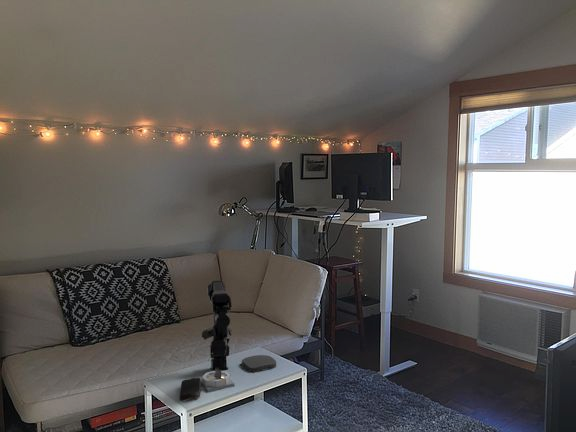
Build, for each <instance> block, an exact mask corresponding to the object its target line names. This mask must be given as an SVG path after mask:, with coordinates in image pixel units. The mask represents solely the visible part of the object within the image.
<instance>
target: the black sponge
mask: <svg viewBox="0 0 576 432" xmlns="http://www.w3.org/2000/svg"><path fill="white" fill-rule="evenodd" d="M200 379H201V378H200V377H191V378H188V379H184V380H181V384H180V393H179V400H180V401H188V400H193V399H199V398H201V386H202V385H201V384H200Z"/></svg>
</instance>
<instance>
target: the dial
mask: <svg viewBox="0 0 576 432" xmlns="http://www.w3.org/2000/svg"><path fill="white" fill-rule="evenodd" d="M221 371H222V370H221V369H219V368H215V373H212V374H209V375H208V376H207V379H210V380H219V379H221V378H222V377H223V378H225V374H223V373H221Z"/></svg>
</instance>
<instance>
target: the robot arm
mask: <svg viewBox="0 0 576 432" xmlns="http://www.w3.org/2000/svg"><path fill="white" fill-rule="evenodd" d="M206 290H207V294H206V295H207V297H208V299H209V300H208V301H209V302H210V303H211V309H212V319H213V321H212V322H213V326H211V327H208V328H206V329H203V330H202V331H201V338H203V340H204V341H205V340H207V339H209V338H212V340H211V341H210V342H211V343H210V345H209V356H210V357H209V358H210V368H211V369H212V371H215V368H219V369H221V371H226V370H229V367H228V365H227V363H228V362H227V357H229V356H230V345H229V343H230V340H231V339H230V338H228V337H231V336H232V334H233V332H232V331H233V330H232V328H230V327H229V325H230V324H231V319H230V317H229V316H230V315H229V314H228V312H229V311H231V309H232V307H233V306H232V299H231V296H230V294H229V293H228V292H227V291H226V284H225V283H223V280H221V279H217V280H211V282H210V283H209V284H208V285H207V288H206Z"/></svg>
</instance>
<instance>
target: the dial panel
mask: <svg viewBox="0 0 576 432" xmlns="http://www.w3.org/2000/svg"><path fill="white" fill-rule="evenodd" d="M212 373H215V371H214V370H211V371H209V372H208V371H207V372H205V374H203V375H202V376H201V377H202V378H200V384H201V385H200V386H202V387H203V388H204V390H206V392H208V393H209V392H210V393H211V392H214V391H219V390H222V389H227V388H233V387H235V382H234V381H233V380H231V373H229V372H228V371H226V370H221V373H223V374H225V378H223V377H222V378H221V379H219V380H210V379H207V376H208V375H209V374H212Z"/></svg>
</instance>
